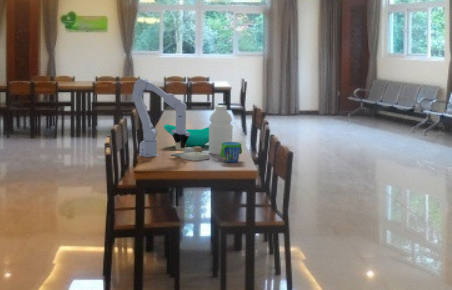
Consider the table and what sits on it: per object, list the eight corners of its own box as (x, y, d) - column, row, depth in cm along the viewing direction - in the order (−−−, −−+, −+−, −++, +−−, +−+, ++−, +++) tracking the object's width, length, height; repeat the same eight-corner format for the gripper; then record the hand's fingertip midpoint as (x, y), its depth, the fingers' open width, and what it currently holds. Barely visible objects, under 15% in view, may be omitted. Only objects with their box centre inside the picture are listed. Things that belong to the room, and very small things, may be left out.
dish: (193, 161, 355) (193, 156, 354) (180, 159, 363) (180, 153, 363) (209, 159, 362) (209, 154, 362) (196, 156, 370) (196, 151, 370)
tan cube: (196, 154, 375) (196, 147, 375) (192, 153, 378) (192, 146, 378) (201, 153, 378) (202, 147, 377) (197, 153, 381) (197, 146, 380)
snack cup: (227, 164, 347) (227, 145, 346) (214, 161, 355) (214, 143, 354) (248, 161, 358) (248, 143, 357) (234, 158, 366) (235, 140, 364)
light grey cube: (188, 155, 371) (188, 148, 371) (184, 154, 374) (184, 147, 374) (193, 154, 374) (193, 148, 374) (189, 154, 377) (189, 147, 376)
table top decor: (164, 149, 395) (164, 128, 393) (162, 143, 422) (162, 122, 420) (229, 149, 400) (229, 127, 398) (223, 142, 427) (224, 122, 425)
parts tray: (181, 158, 365) (181, 156, 364) (170, 156, 372) (170, 154, 372) (206, 155, 377) (206, 153, 376) (195, 153, 384) (195, 151, 384)
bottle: (233, 155, 378) (233, 107, 374) (209, 155, 377) (209, 106, 373) (231, 151, 392) (231, 104, 388) (208, 151, 391) (208, 104, 387)
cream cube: (179, 150, 367) (179, 143, 366) (175, 149, 370) (175, 142, 369) (185, 149, 370) (185, 142, 369) (181, 148, 373) (181, 141, 372)
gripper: (194, 124, 365) (194, 148, 367) (178, 121, 376) (178, 145, 378) (184, 125, 360) (184, 149, 362) (168, 122, 371) (168, 146, 373)
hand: (180, 147), depth 370 cm, fingers closed on cream cube, 4 cm apart
